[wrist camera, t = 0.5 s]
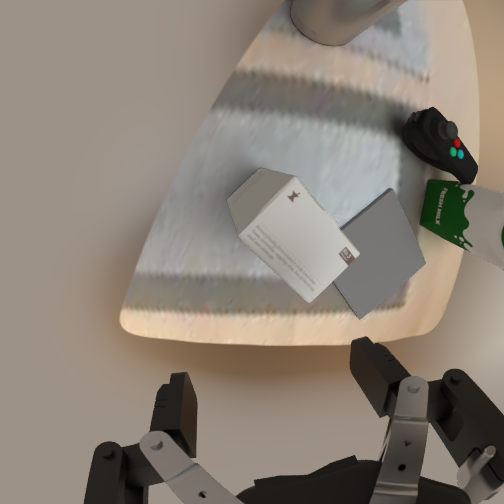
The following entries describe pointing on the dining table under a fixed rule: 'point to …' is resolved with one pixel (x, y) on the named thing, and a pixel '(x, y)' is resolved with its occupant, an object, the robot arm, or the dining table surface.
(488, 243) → the milk carton
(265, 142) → the dining table surface
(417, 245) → the mat
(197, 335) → the dining table surface
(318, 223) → the skincare box
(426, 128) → the controller
